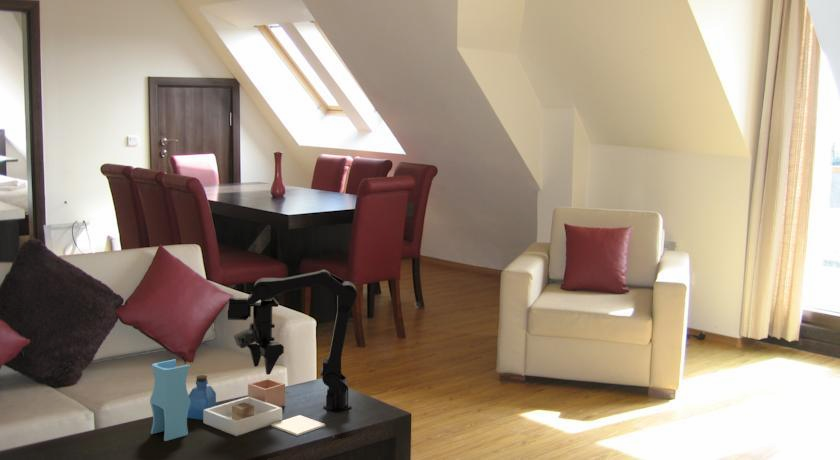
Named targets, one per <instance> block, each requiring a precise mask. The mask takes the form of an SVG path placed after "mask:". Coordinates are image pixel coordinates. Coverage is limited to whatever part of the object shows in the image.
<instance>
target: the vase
mask: <svg viewBox="0 0 840 460" xmlns="http://www.w3.org/2000/svg"><path fill="white" fill-rule="evenodd" d="M190 366H191V364H185V365H180V366H177V359H176V358H175V359H170V360H164V361H161V362H160V361H159V362H155V363H152V364H151V368H152V371H153V377H154V385H153V389H152V393H151V396H150V399H149V403H150V408H151V411H152V418H153V419H152V425H151V430H150V434H151V435H153V434H154V435H155V434H157V433H161V432H164V434H163V441H164V442H167V441H170V440H175V439H177V438H181V437H185V436H188V435H189V429H188V418H187V415H188V410H189V407H190V398H189V394H188V390H187V378H188V377H187V376H188V373H189V371H190V370H189V369H190Z"/></svg>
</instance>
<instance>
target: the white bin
mask: <svg viewBox="0 0 840 460" xmlns="http://www.w3.org/2000/svg"><path fill="white" fill-rule="evenodd" d="M243 402H246V403H248V404H251V405H254V416H250V417H247V418H244V419H241V420H238V421H236V420H234V419H232V405H236V404H239V403H243ZM280 421H283V407H278V406H275V405H272V404H270V403H267V402H264V401H261V400H258V399H255V398H253V397H250V396H249V397H248V396H246V397H242V398H239V399H235V400H232V401H229V402H228V401H227V402H225V403H221V404H218V405H216V406H215V407H211V408H208V409H204V410H203V423H202V424H205V425H207V426H209V427H212V428H215V429H217V430H220V431H222V432H224V433H227V434H229V435H232V436H235V437H238V436H242V435H245V434H247V433H250V432H253V431H256V430H259V429H263V428H265V427H266V428H267V427H269V426H271V424H274V423H277V422H280Z"/></svg>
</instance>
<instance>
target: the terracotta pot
mask: <svg viewBox="0 0 840 460" xmlns="http://www.w3.org/2000/svg"><path fill="white" fill-rule="evenodd" d="M249 396H250V397H253V398H255V399H258V400H261V401H264V402H267V403H270V404H272V405H275V406H278V407H281V408H283V407H286V383H283V382H280V381H277V380H273V379H271V378H266V379H264V378H263V379H261V380H257V381H254V382H251V383H248V384H247V397H249Z"/></svg>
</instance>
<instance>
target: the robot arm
mask: <svg viewBox="0 0 840 460" xmlns="http://www.w3.org/2000/svg"><path fill="white" fill-rule="evenodd" d="M321 285H322V286H324V287H325V288H327V289H328V290H329V291H330V292H331V293H333V294H334V295H336V296H337V301H336V304H337V306H336V308H337V309H336V310H337V311H336V316H335V322H334V327H333V333H332V338H331V344H330V349H329V353H328V355H327V358H325V357H322V365H321V367H320V377H321V378H322V379H321V380H322V382H323V384H324V385H325V386H327V387H328V389H327V391H326V395H325V396H326V400H325V405H323V406H322V407H323V409H326V410H329V411H332V412H335V413H340V412H342V411H343V412H344V411H346V410H348V409H352V405H350V404H349V387H348V378H347V377H346V376H345V375H344V374H343V373H342V355H343V349H344V343H345V340H346V333H347V329H348V328H347V327H348V322H349V317H350V313H351V311H352V309H353V306H354V304H355V301H356V300H357V299H356V298H357V297H358V292H357V288H356V285H355V283H353V282H351V281H347V280H343V279H341V278H340V277H339V276H337V275H334V274H332V273H331V272H329V271H328V270H327V269H321V270H317V271H313V272H312V271H311V272H308V273H307V272H306V273H304V274H298V275H293V276H289V277H278V278H277V277H261V278H259V279H257V280H256V281H255V283H254V286H253V288H252V292H250V294H248V297H229V299H228V306H227V307H228V309H227V320H228V321H248V319H249V318H251V317H252V322H250V324H249V328H248V329H245V330H244V329H243V330H242V331H240V332H238V333H236V334H234V335H233V339H234V341H235V343H236V346H237V347H239V348H241V349H244V348H248V350H249V352H250V356H251V360H252V363H253V364H252V365H253V367H259V363H260V361H261V357H262V358H263V360H264V367H265V374H266V375H270V374H271V373H272V371H273V369H274V367H275V365H276V363H277V361H278V360H279V358H280V356H282V354H284V353H285V347H284V345H283V344H282V343H280V342H278V341H275V337H274V336H273V329H274V328H275V324H274V323H273V307H274V308H278V307H279V304H280V303H279V301H277V300H276V299H275V297H277V296H278V295H280V294H282V293H285V292H291V291H296V290H300V289H304V288H310V287H315V286H316V287H317V286H321ZM259 301H260V302H259ZM252 310H253V311H252Z"/></svg>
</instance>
